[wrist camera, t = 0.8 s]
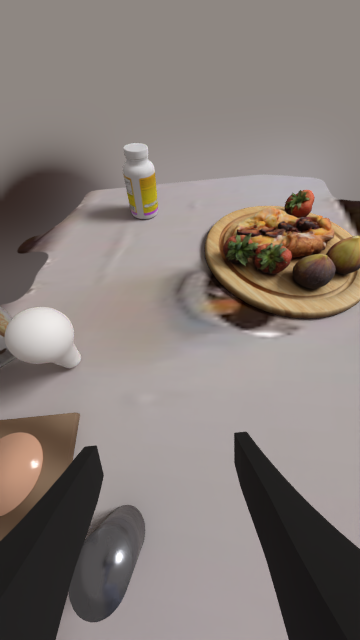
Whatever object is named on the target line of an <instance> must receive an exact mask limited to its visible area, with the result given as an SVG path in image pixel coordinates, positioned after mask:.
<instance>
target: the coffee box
mask: <svg viewBox="0 0 360 640" xmlns="http://www.w3.org/2000/svg"><path fill="white" fill-rule="evenodd" d="M10 321H11V317H10V315H9V313H8V312H7V311H5V310H4V309H3V308H1V307H0V367H2V366H3V365H5V364H7V363H8V362H10V361H12V360H13V359H15V358H16V357H15V356H14V355H13V354H12V353H11V352H10V351H9V349H8V347H7V346H6V343H5V331H6V328H7V325H8V323H9V322H10Z"/></svg>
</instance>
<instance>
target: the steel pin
mask: <svg viewBox="0 0 360 640" xmlns="http://www.w3.org/2000/svg"><path fill="white" fill-rule="evenodd" d="M144 537H145V523H144V519H143V517H142V515H141V513H140V511H139V510H138V509H137V508H135V507H134V506H131V505H123V506H121V507H119V508H117V509H116V510H115V511H113V512H112V513H111V514H110V515H109V517H108V518H107V519H106V520H105V521H104V522H103V523H102V524H101V525H100V526H99V527H98V528H97V529H96V530H95V531H94V532H93V533H92V534H91V535H90V536H89V537H88V538H87V539H86V540H85V541H84V543H83V546H82V549H81V552H80V555H79V558H78V561H77V564H76V567H75V570H74V573H73V577H72V580H71V583H70V587H69V597H70V601H71V604H72V607H73V609H74V611H75V612H76V614H77V615H78V616H79V617H80V618H82V619H83V620H85V621H88V622H98V621H101V620H103V619H105V618H107V617H108V616H110V615H111V614H112V613H113V612H114V611H115V610H116V608H117V607H118V606H119V604H120V603H121V601H122V599H123V597H124V595H125V593H126V590H127V587H128V584H129V582H130V579H131V576H132V573H133V570H134V567H135V565H136V562H137V559H138V556H139V553H140V551H141V548H142V545H143V542H144Z"/></svg>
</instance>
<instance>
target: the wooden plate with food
mask: <svg viewBox="0 0 360 640" xmlns="http://www.w3.org/2000/svg"><path fill="white" fill-rule="evenodd" d="M313 202H314V195H313V193H312V191H310V190H303V191H301V190H300V191H299V193H298V194H296V195H295V194H294V193H292V195H291V196H290V197H289V198H288V199H287V201H286V202H285V203H286V204H285V207H280V206H256V207H249V208H244V209H241V210H237V211H234V212H232V213H230V214H228V215H226V216H224V217H223V218H221V219H220V220H219V221H218V222H217V223H216V224H215V225H214V226H213V227H212V228H211V230H210V231H209V233H208V235H207V238H206V242H205V257H206V261H207V264H208V266H209V268H210V270H211V272H212V273H213V275H214V276H215V277H216V279H217V280H218V281H219V282H220V283H221V284H222V285H223V286H224V287H225V288H226V289H227V290H228V291H229V292H231V293H232V294H233V295H235V296H236V297H238V298H239V299H241V300H243V301H244V302H246V303H248V304H249V305H252V306H254V307H256V308H259V309H261V310H264V311H266V312H270V313H273V314H276V315H280V316H286V317H292V318H305V319H308V318H322V317H328V316H332V315H336V314H339V313H341V312H344V311H346V310H348V309H350V308H351V307H353V306H354V305H356V304H357V303H358V302H359V301H360V236H352V235H350V234H349V233H348V232H347V231H345V230H344V229H343V228H341V227H340V226H338V225H336V224H334V223H333V222H331V221H330V220H329V219H327V218H323V216H318V215H315V214H312V213H310V212H311V209H312V204H313Z"/></svg>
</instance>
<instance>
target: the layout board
mask: <svg viewBox="0 0 360 640" xmlns="http://www.w3.org/2000/svg"><path fill="white" fill-rule="evenodd" d="M79 417H80V414H78V413H67V414H58V415H48V416H38V417H28V418H18V419H8V420H0V541H1V540H2V539H3V538H4V537H5V536H6V535H7V534H8V533H9V532H10V531H11V530H12V529H13V528H14V527H15V526H16V525H17V524H18V523H19V522H20V521H21V520H22V519H23V517H24V516H25V515H26V514H27V513H28V512H29V511H30V510H31V509H32V508H33V507H34V505H35V504H36V503H37V502H38V501H39V500H40V499H41V498H42V497H43V495H44V494H45V493H46V492H47V491H48V490H49V489H50V487H51V486H52V485H53V484H54V483H55V482H56V480H57V479H58V478H59V477H60V476H61V475H62V473H63V472H64V471H65V470H66V469H67V467H68V466H69V465H70V464H71V463H72V461H73V454H74V448H75V442H76V436H77V430H78V423H79Z"/></svg>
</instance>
